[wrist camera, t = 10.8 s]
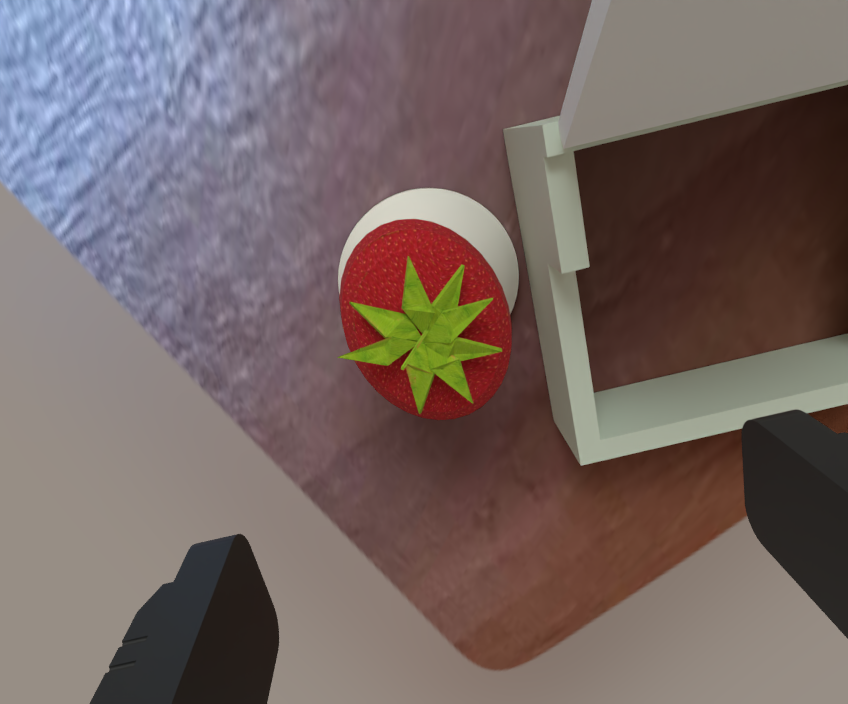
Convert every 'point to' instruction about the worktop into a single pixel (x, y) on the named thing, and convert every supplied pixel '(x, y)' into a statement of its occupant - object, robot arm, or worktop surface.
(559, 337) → the cold frame
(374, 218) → the cream white rounded part
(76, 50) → the worktop surface
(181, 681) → the robot arm
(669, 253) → the worktop surface
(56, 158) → the worktop surface
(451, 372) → the strawberry
